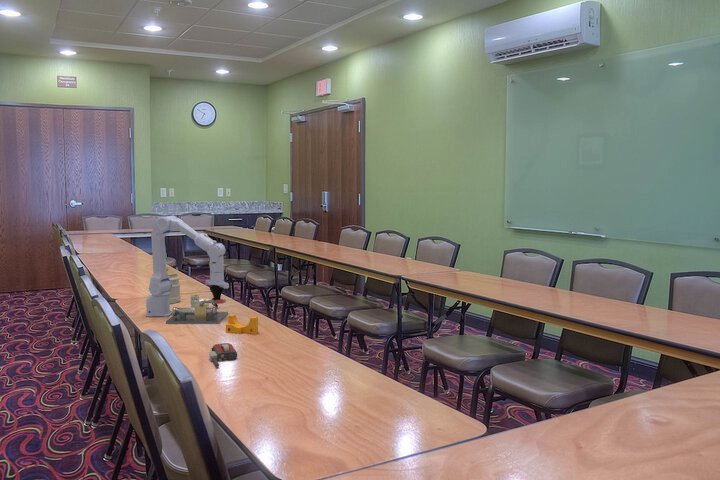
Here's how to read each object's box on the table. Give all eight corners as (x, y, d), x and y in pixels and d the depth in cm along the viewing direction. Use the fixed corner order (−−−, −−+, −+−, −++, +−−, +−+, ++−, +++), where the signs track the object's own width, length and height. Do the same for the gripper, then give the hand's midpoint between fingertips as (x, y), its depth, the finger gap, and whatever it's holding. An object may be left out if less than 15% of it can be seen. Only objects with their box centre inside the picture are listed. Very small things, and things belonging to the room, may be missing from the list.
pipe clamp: (225, 332, 232) (225, 316, 231) (232, 330, 236) (231, 314, 235) (252, 335, 228) (251, 319, 227) (258, 333, 232) (257, 316, 231)
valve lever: (199, 305, 252) (199, 300, 252) (199, 304, 254) (199, 299, 254) (225, 304, 254) (225, 299, 254) (225, 303, 256) (225, 298, 256)
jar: (185, 301, 290) (184, 266, 288) (161, 305, 281) (160, 268, 279) (172, 298, 299) (171, 263, 297) (147, 301, 290) (146, 266, 288)
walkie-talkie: (205, 353, 206) (214, 370, 187) (205, 340, 205) (213, 356, 187) (231, 350, 209) (242, 367, 190) (231, 338, 209) (241, 353, 190)
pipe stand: (165, 323, 245) (165, 309, 245) (178, 314, 263) (177, 300, 263) (219, 323, 246) (218, 309, 245) (227, 313, 264) (227, 300, 263)
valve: (191, 311, 269) (218, 309, 274) (191, 297, 269) (217, 295, 273) (189, 308, 275) (215, 306, 280) (189, 294, 275) (215, 292, 279)
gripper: (199, 270, 257) (199, 301, 258) (219, 274, 247) (219, 306, 248) (213, 269, 262) (213, 299, 263) (232, 272, 252) (233, 304, 254)
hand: (217, 302), depth 256 cm, fingers closed, pressing on valve lever
